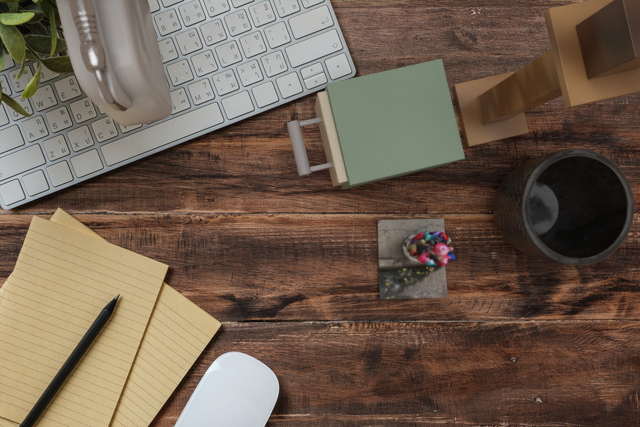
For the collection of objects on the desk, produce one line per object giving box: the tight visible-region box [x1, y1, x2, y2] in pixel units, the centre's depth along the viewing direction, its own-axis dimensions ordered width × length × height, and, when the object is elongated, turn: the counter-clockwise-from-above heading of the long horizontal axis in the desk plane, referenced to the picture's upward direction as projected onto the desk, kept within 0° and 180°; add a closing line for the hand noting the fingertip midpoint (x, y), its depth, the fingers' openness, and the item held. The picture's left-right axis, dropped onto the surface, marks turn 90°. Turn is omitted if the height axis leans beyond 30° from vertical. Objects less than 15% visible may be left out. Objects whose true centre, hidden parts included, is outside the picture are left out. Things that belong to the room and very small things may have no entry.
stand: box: [451, 0, 640, 148], centre depth 56 cm, size 9×9×26 cm
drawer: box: [286, 90, 348, 188], centre depth 63 cm, size 18×11×8 cm, turn 103°
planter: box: [492, 148, 635, 267], centre depth 63 cm, size 14×14×13 cm
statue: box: [376, 218, 456, 300], centre depth 61 cm, size 11×9×15 cm
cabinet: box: [324, 58, 466, 191], centre depth 63 cm, size 15×13×10 cm
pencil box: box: [576, 0, 640, 80], centre depth 40 cm, size 5×5×6 cm
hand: (139, 10), depth 37 cm, fingers closed
